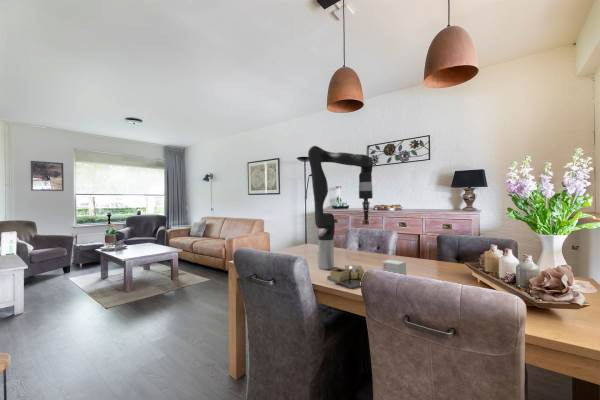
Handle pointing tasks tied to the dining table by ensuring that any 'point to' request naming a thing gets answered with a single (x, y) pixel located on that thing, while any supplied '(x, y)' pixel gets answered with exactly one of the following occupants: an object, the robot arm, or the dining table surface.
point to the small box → (394, 266)
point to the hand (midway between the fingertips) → (366, 220)
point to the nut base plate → (348, 280)
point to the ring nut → (346, 273)
